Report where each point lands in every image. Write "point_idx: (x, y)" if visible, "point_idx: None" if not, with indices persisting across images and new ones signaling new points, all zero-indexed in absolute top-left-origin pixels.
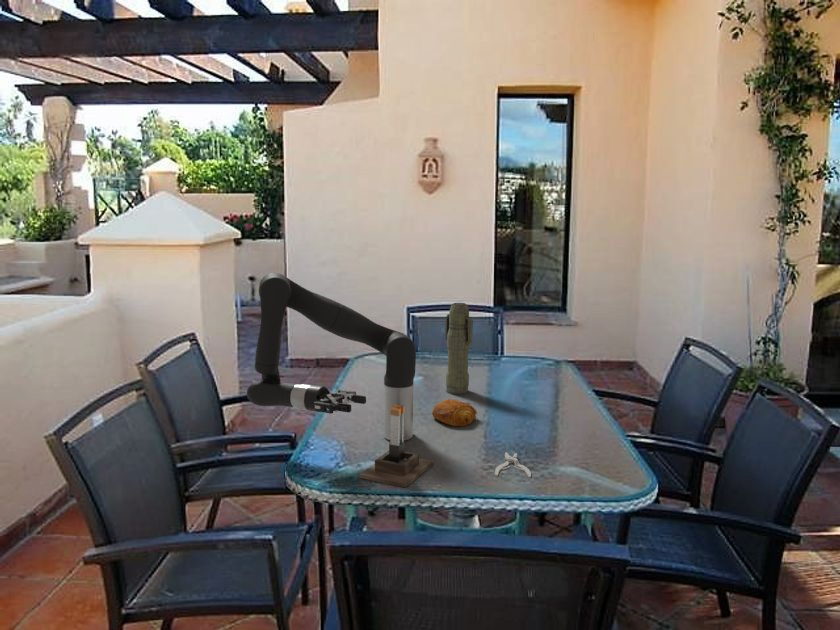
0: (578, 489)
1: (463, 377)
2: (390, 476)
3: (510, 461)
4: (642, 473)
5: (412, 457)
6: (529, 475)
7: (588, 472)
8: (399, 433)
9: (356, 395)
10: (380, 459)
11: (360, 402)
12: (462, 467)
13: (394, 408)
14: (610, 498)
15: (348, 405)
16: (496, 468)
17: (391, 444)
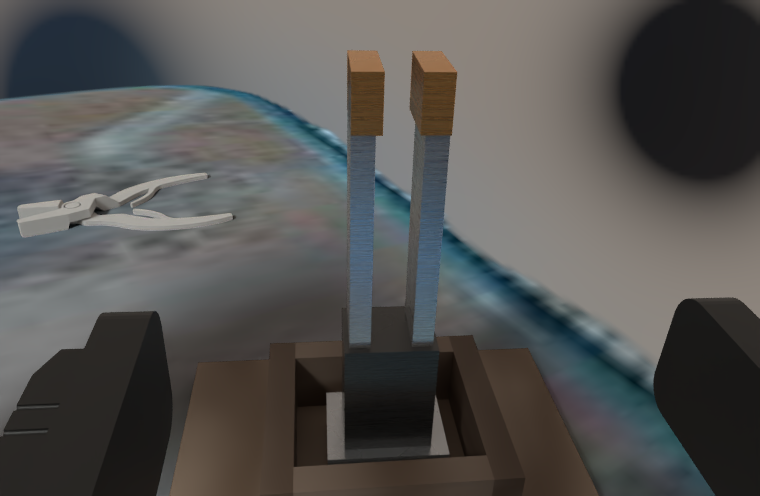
0: (240, 127)
1: None
2: (512, 426)
3: (93, 212)
4: (94, 91)
5: (339, 348)
6: (199, 174)
7: (118, 127)
8: (410, 239)
9: (87, 456)
10: (483, 458)
11: (156, 474)
12: (193, 293)
13: (447, 62)
14: (261, 104)
15: (740, 313)
16: (173, 224)
17: (430, 339)
